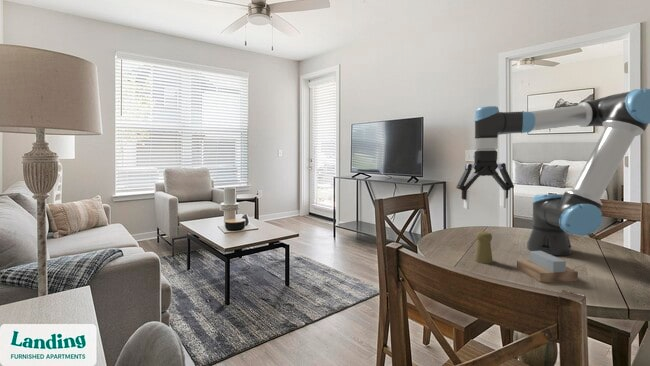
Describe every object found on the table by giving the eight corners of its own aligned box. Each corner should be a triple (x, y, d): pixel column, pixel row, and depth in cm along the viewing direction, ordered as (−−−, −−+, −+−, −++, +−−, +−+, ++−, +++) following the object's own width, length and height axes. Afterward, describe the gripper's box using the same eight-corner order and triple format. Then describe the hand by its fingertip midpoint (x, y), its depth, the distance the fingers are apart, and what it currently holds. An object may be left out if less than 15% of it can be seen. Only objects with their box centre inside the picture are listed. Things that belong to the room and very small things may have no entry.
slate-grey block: (540, 260, 114) (541, 250, 114) (565, 272, 103) (565, 261, 103) (529, 261, 114) (529, 251, 114) (553, 272, 103) (553, 261, 103)
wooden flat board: (550, 269, 115) (550, 259, 115) (577, 282, 103) (577, 271, 103) (516, 270, 115) (516, 260, 115) (540, 284, 103) (540, 273, 103)
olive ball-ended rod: (484, 264, 120) (485, 235, 119) (471, 259, 125) (471, 231, 124) (496, 262, 122) (497, 233, 121) (482, 257, 128) (483, 229, 127)
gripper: (513, 149, 124) (511, 205, 126) (447, 150, 123) (447, 207, 125) (526, 149, 116) (524, 208, 118) (456, 150, 116) (455, 210, 118)
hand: (484, 207), depth 122 cm, fingers open, 13 cm apart
